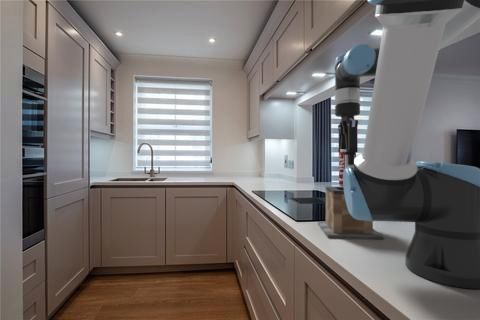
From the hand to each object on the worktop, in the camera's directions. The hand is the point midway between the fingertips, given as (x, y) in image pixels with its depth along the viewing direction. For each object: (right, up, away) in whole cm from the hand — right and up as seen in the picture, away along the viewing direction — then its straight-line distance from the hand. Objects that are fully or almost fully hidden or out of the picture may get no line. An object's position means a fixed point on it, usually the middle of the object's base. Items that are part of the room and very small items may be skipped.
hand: (347, 174), depth 88 cm
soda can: (0, -4, 0) cm, 4 cm away
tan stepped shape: (0, -19, 0) cm, 19 cm away
